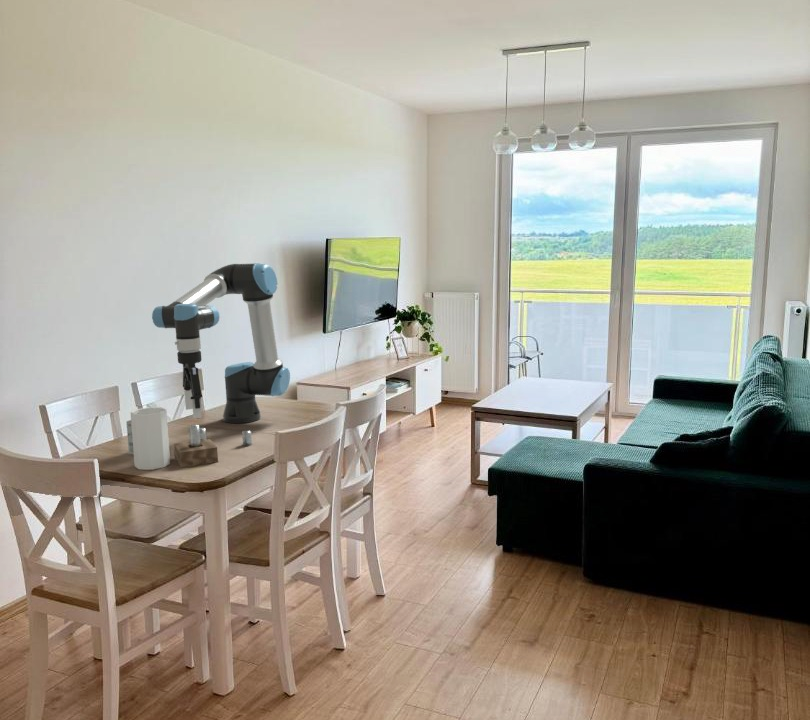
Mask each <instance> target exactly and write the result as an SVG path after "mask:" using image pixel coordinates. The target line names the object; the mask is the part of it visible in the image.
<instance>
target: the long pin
mask: <svg viewBox="0 0 810 720" xmlns="http://www.w3.org/2000/svg"><path fill="white" fill-rule="evenodd" d="M188 427H189V442H190V444H191V448H194V447H201V446H200V429H199V428H200V424H199V423H197V424H196V423H194V424H190V425H189V426H188Z"/></svg>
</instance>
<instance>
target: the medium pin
mask: <svg viewBox="0 0 810 720" xmlns="http://www.w3.org/2000/svg"><path fill="white" fill-rule="evenodd" d="M199 429H200V440H206V439H207V429H206V427H199Z"/></svg>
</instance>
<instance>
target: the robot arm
mask: <svg viewBox="0 0 810 720" xmlns="http://www.w3.org/2000/svg"><path fill="white" fill-rule="evenodd" d="M277 285H278V277H277V274H276V272H275V270H274V269H273V267H271V265H269V264H266V263H255V262H254V263H231V264H228V265H225V266H221V267H219V268H217V269H216V270H214V271H212V272H211V273H209V274H207V275H206V276H205V278H204V279H203V281H202V282H201V283H199V284H198V285H196V286H195V287H194V288H192V289H190V290H189V291H187V292H185V294H183V295H182V296H180V297H179V298H177V299H176V300H175V301H173V302H172V303H170V304H168V305H161V306H156V307H155V308H154V309H153V311H152V313H151V319H152V323H153V325H154V326H155V327H157V328H161V329H175V339H176V341H175V342H174V344H175V345H176V350H177V351H178V352H177V355H176V356H177V363H179V364H181V365H182V387H183V390H184V403H185V410H192V414H193V415H192V417H193V419H199V418H200V419H201V418H203V409H202V397H203V394H202V393H203V392H202V387H201V382H200V376H199V368H198V367H196V364H199V363H200V362H201V361H202V351H201V348H202V347H201V346H202V345H201V337H200V336H201V335H200V334H201V333H200V331H201V330H205V329H210V328H212V327H215V326H216V325H217V324H218V323H219V321H220V312H219V310H218V309H217V308H216V307H215V306H214V305H210V304H209V303H211V302H212V301H214V300H215V299H218V298H222V297H224V296H225V295H242V301H243V302H244V303H246V304H247V307H248V315H249V321H250V322H249V323H250V328H251V334H252V341H253V348H254V355H255V362H252V361H249V362H248V361H247V362H239V363H235V364H230V365H227V366H226V368H225V369H224V381H225V397H226V398H225V401H226V403H225V406H224V410H223V413H222V421H223V422H225V423H229V424H244V423H245V424H246V423H247V424H248V423H251V422H257V421H259V420H260V419H261V411H260V409H259V408H260V407H259V406H258V403H257V401H256V396H265V397H266V396H268V397H277V396H278V397H281V396H283V395H285V394H286V392H287V390H288V388H289V385H290V382H291V380H290V379H291V373H290V370H289V368H288V367H286V366H284V365H283V361H282V360H281V358H279V357H278V356H279V355H278V349H277V341H276V336H275V329H274V321H273V313H272V306H271V300H272V299H273V297H274V294H275V293H276V291H277V289H278V287H277Z"/></svg>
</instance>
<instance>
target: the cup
mask: <svg viewBox="0 0 810 720" xmlns="http://www.w3.org/2000/svg"><path fill="white" fill-rule="evenodd" d="M130 420H131V426H132V438H133V451H134V454H133V460H134V461H133V462H134V467H135V468H136V469H138V470H139V471H153V470H154V471H155V470H158V469H163V468H166V467H167V466H169V465H170V464H171V455H170V454H171V452H170V440H169V429H168V413H167V409H166V408H164V407H159V406H158V407H155V406H154V407H151V406H149V407H143V408H142V407H141V408H138V409H135V410H132V411H130Z"/></svg>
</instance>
